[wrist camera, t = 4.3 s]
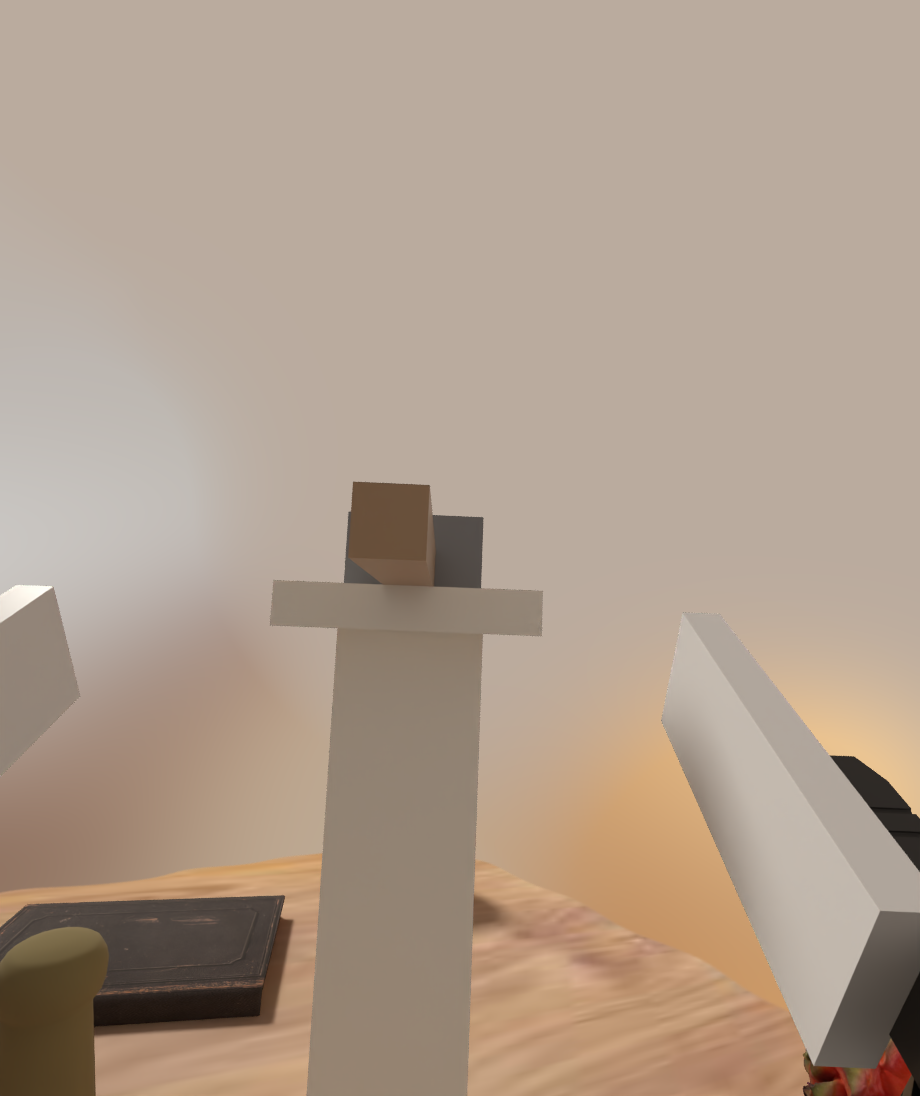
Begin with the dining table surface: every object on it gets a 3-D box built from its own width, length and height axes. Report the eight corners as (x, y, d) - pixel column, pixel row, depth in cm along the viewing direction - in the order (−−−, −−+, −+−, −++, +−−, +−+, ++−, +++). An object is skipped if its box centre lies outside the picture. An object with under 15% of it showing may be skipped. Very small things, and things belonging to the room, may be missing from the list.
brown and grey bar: (510, 564, 17) (514, 428, 18) (262, 554, 17) (274, 417, 18) (473, 601, 39) (475, 540, 40) (363, 597, 39) (367, 535, 39)
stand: (526, 1384, 23) (542, 590, 27) (209, 1370, 23) (273, 580, 27) (502, 1127, 35) (516, 603, 39) (293, 1118, 35) (329, 595, 39)
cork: (123, 1144, 33) (146, 924, 34) (9, 1248, 27) (42, 980, 29) (42, 1110, 35) (67, 905, 36) (-79, 1201, 29) (-44, 953, 31)
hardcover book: (23, 930, 56) (26, 903, 56) (283, 920, 60) (284, 895, 60) (-105, 1049, 40) (-99, 1010, 40) (258, 1024, 44) (261, 989, 44)
